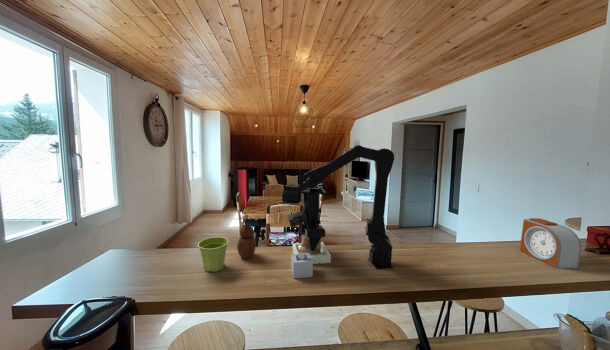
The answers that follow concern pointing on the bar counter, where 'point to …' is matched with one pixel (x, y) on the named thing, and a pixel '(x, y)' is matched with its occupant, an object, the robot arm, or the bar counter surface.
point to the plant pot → (213, 253)
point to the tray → (316, 258)
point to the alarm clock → (550, 243)
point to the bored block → (301, 266)
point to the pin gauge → (301, 252)
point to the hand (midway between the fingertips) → (310, 247)
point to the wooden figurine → (246, 241)
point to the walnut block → (307, 244)
